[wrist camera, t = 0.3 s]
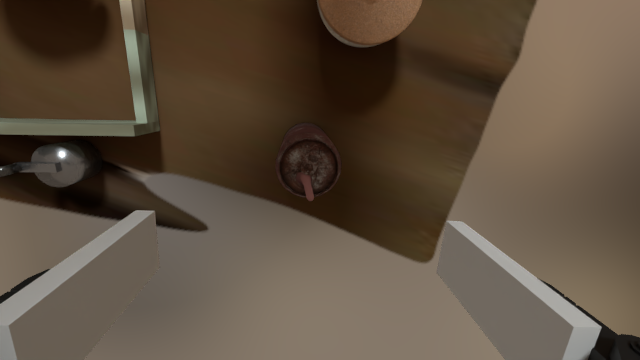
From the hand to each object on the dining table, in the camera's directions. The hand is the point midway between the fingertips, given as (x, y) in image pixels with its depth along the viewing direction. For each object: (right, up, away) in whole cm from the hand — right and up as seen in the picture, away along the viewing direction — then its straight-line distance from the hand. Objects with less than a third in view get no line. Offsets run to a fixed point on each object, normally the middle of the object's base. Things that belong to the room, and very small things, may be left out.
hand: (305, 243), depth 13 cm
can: (-1, +8, +27) cm, 28 cm away
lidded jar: (+5, +24, +23) cm, 33 cm away
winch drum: (-30, +6, +25) cm, 39 cm away
